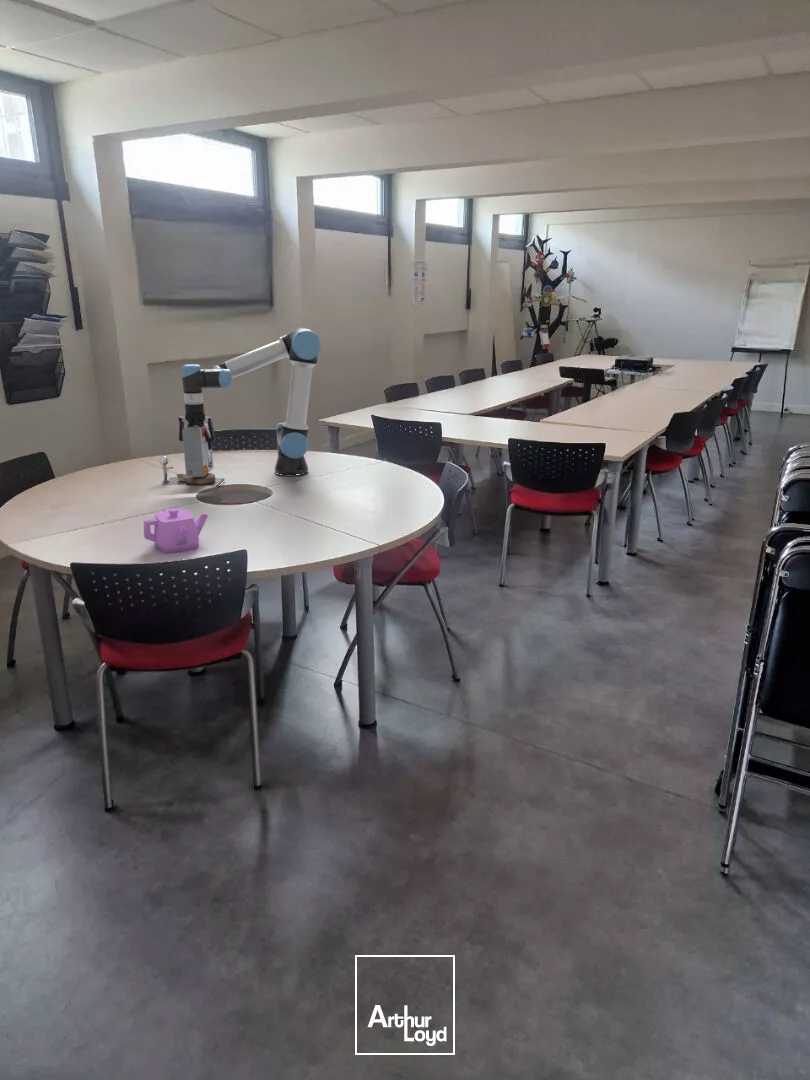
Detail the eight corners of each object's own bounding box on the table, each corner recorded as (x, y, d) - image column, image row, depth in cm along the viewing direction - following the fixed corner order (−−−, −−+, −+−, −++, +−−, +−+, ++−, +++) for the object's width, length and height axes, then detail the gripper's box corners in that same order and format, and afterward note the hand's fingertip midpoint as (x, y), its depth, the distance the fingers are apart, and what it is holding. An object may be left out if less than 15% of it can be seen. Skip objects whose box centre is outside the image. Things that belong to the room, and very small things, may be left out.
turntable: (219, 477, 307) (218, 470, 306) (209, 484, 296) (209, 477, 295) (183, 476, 308) (183, 469, 307) (172, 483, 297) (172, 476, 296)
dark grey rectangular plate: (224, 481, 308) (224, 478, 308) (217, 488, 297) (217, 485, 296) (171, 480, 308) (170, 477, 308) (161, 487, 297) (161, 484, 297)
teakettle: (167, 535, 242) (164, 500, 238) (213, 539, 238) (210, 504, 234) (139, 552, 227) (134, 515, 222) (187, 557, 223) (183, 519, 219)
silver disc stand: (161, 482, 299) (159, 457, 296) (161, 481, 301) (159, 456, 298) (174, 481, 301) (171, 456, 297) (174, 480, 303) (171, 455, 299)
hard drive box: (204, 477, 293) (199, 429, 287) (185, 477, 294) (180, 429, 287) (214, 468, 308) (210, 422, 301) (196, 468, 308) (192, 422, 301)
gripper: (166, 404, 287) (172, 459, 295) (216, 404, 287) (220, 459, 295) (172, 401, 294) (177, 454, 302) (221, 401, 294) (225, 455, 302)
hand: (199, 457), depth 299 cm, fingers closed on hard drive box, 7 cm apart
